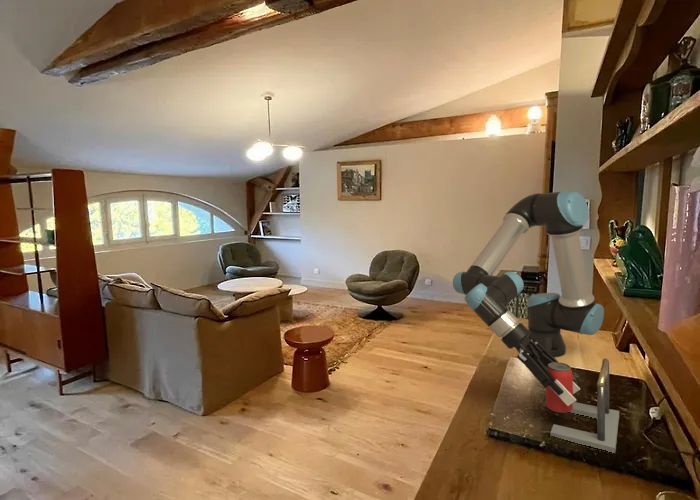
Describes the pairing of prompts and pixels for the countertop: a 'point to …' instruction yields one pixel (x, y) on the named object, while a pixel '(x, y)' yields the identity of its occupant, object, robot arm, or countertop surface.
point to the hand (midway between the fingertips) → (574, 397)
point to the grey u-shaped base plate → (588, 437)
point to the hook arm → (602, 399)
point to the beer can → (566, 379)
